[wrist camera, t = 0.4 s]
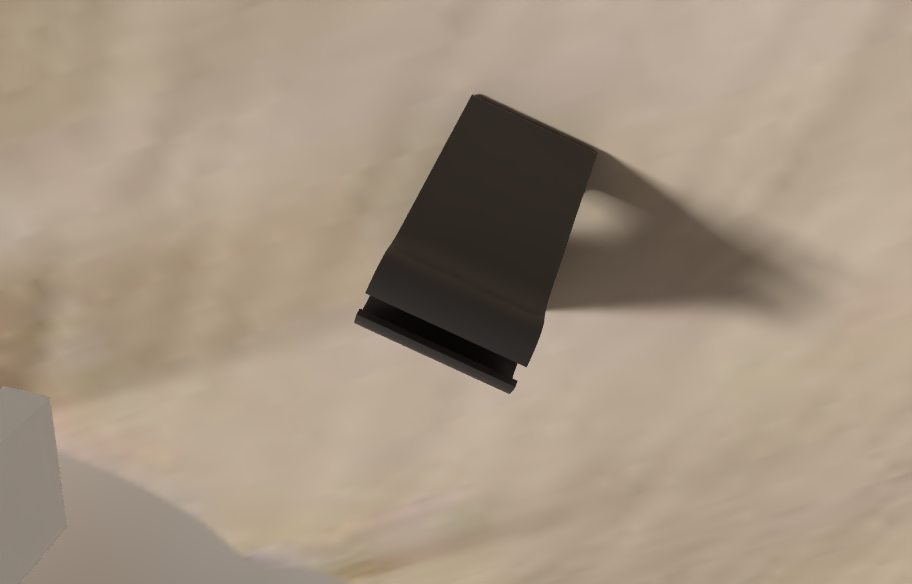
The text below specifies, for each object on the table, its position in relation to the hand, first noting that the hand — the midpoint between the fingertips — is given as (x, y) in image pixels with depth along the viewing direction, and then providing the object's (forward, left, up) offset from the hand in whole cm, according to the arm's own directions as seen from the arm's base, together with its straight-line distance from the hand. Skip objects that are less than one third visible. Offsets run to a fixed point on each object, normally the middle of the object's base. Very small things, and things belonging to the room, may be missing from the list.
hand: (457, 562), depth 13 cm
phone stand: (+5, -4, -27) cm, 28 cm away
